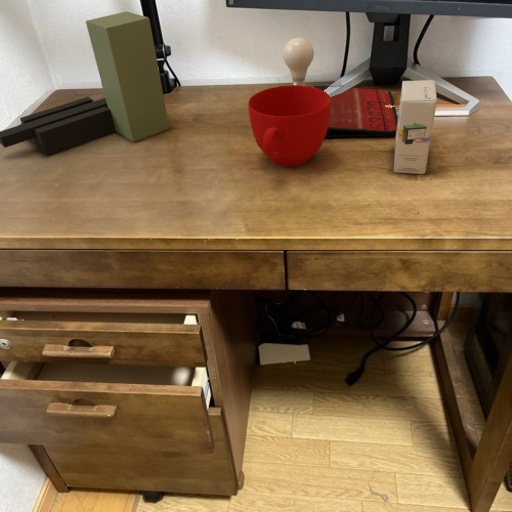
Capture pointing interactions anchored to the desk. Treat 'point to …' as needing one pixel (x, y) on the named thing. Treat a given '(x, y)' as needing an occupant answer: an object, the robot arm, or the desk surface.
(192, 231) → the desk surface
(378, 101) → the binder
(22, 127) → the pad strip
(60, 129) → the dock pad
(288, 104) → the ceramic cup
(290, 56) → the lightbulb
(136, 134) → the stand
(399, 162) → the ink box
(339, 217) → the desk surface
